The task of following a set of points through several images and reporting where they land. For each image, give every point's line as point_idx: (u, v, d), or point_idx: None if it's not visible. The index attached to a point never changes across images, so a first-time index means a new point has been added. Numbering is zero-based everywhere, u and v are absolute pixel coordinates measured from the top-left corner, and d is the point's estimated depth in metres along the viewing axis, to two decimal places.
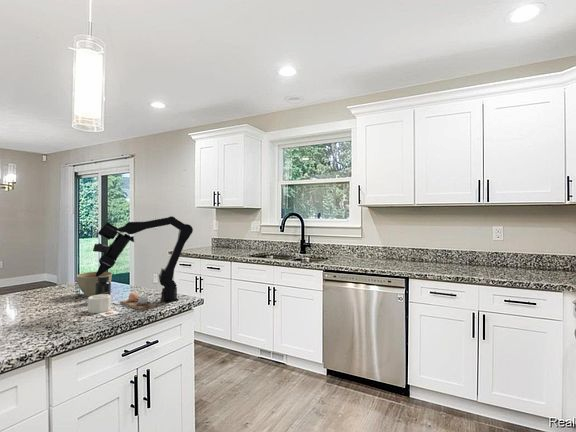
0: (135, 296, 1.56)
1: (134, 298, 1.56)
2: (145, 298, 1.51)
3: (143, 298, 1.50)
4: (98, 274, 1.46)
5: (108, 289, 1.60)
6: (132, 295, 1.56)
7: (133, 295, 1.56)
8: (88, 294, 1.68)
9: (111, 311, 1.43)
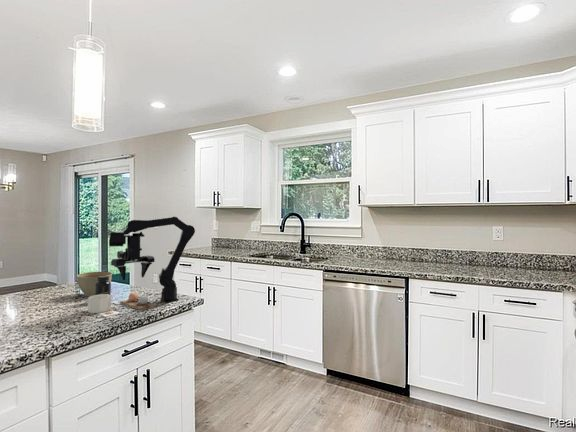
0: (135, 296, 1.56)
1: (134, 298, 1.56)
2: (145, 298, 1.51)
3: (143, 298, 1.50)
4: (123, 277, 1.53)
5: (108, 289, 1.60)
6: (132, 295, 1.56)
7: (133, 295, 1.56)
8: (88, 294, 1.68)
9: (111, 311, 1.43)
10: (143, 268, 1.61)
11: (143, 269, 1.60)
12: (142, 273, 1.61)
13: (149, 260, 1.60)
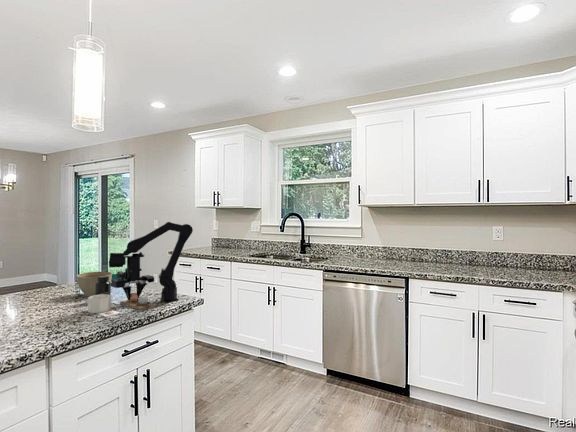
0: (135, 296, 1.56)
1: (134, 298, 1.56)
2: (145, 298, 1.51)
3: (143, 298, 1.50)
4: (128, 297, 1.55)
5: (108, 289, 1.60)
6: (132, 295, 1.56)
7: (133, 295, 1.56)
8: (88, 294, 1.68)
9: (111, 311, 1.43)
10: (138, 289, 1.59)
11: (138, 290, 1.59)
12: (137, 294, 1.59)
13: (149, 280, 1.60)
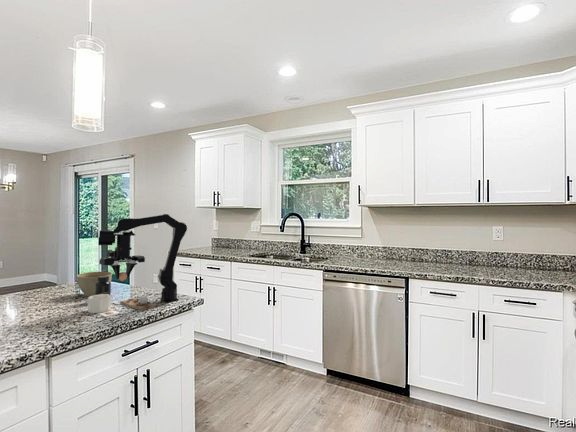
0: (124, 275, 1.52)
1: (123, 277, 1.52)
2: (145, 298, 1.51)
3: (143, 298, 1.50)
4: (116, 276, 1.51)
5: (108, 289, 1.60)
6: (121, 274, 1.52)
7: (122, 274, 1.52)
8: (88, 294, 1.68)
9: (111, 311, 1.43)
10: (128, 268, 1.55)
11: (128, 269, 1.55)
12: (127, 274, 1.55)
13: (139, 260, 1.56)
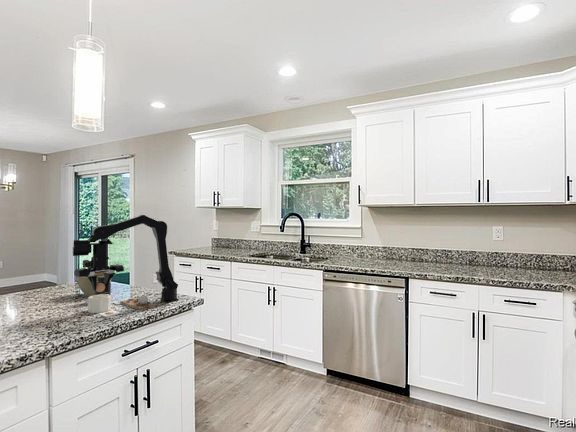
0: (102, 286, 1.44)
1: (101, 288, 1.44)
2: (145, 298, 1.51)
3: (143, 298, 1.50)
4: (93, 288, 1.43)
5: (108, 289, 1.60)
6: (98, 285, 1.44)
7: (99, 285, 1.44)
8: (88, 294, 1.68)
9: (111, 311, 1.43)
10: (106, 279, 1.47)
11: (106, 280, 1.47)
12: (105, 284, 1.47)
13: (118, 269, 1.49)
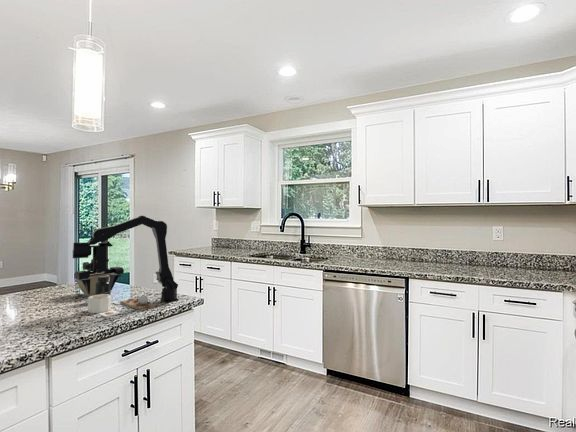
0: None
1: None
2: (145, 298, 1.51)
3: (143, 298, 1.50)
4: (87, 291, 1.41)
5: (108, 289, 1.60)
6: None
7: None
8: (88, 294, 1.68)
9: (111, 311, 1.43)
10: (111, 280, 1.49)
11: (111, 281, 1.49)
12: (110, 286, 1.49)
13: (117, 272, 1.49)
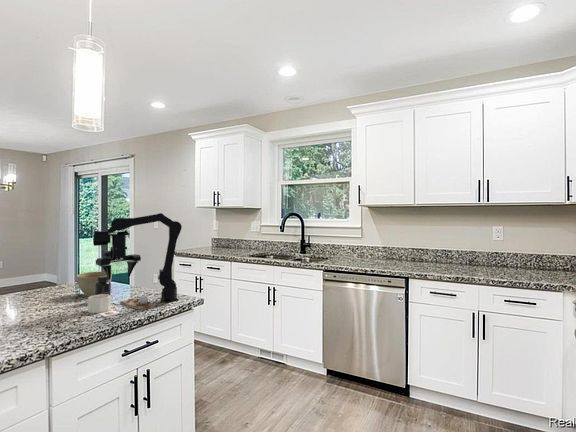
0: None
1: None
2: (145, 298, 1.51)
3: (143, 298, 1.50)
4: (108, 277, 1.50)
5: (108, 289, 1.60)
6: None
7: None
8: (88, 294, 1.68)
9: (111, 311, 1.43)
10: (129, 267, 1.58)
11: (129, 268, 1.58)
12: (128, 272, 1.58)
13: (135, 259, 1.58)
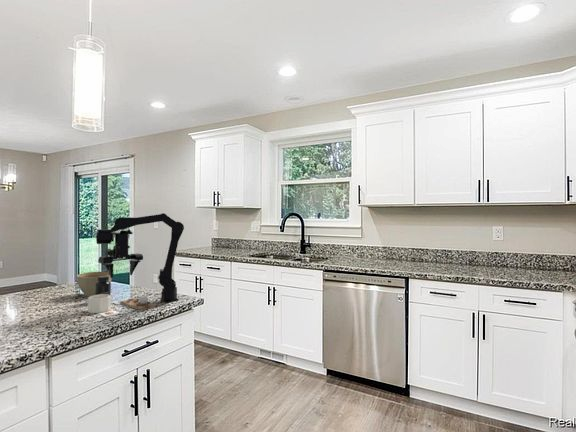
0: None
1: None
2: (145, 298, 1.51)
3: (143, 298, 1.50)
4: (110, 275, 1.52)
5: (108, 289, 1.60)
6: None
7: None
8: (88, 294, 1.68)
9: (111, 311, 1.43)
10: (131, 266, 1.59)
11: (131, 267, 1.59)
12: (130, 271, 1.59)
13: (137, 258, 1.59)
